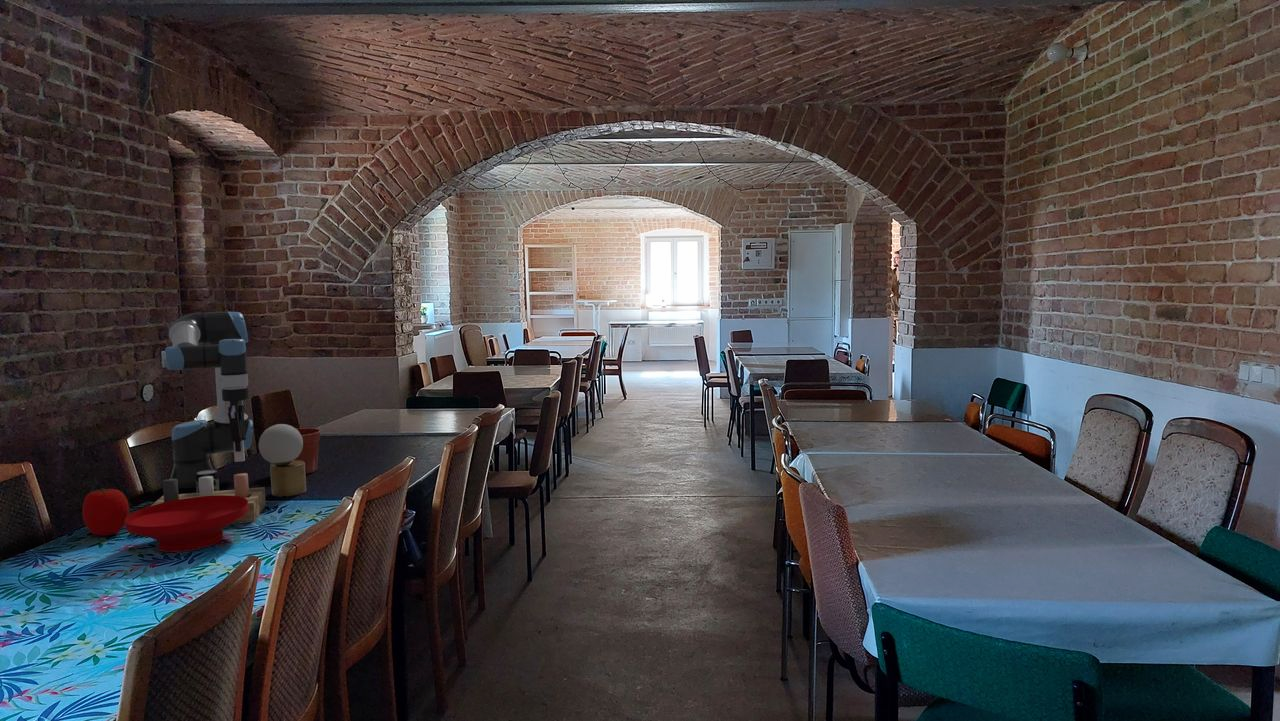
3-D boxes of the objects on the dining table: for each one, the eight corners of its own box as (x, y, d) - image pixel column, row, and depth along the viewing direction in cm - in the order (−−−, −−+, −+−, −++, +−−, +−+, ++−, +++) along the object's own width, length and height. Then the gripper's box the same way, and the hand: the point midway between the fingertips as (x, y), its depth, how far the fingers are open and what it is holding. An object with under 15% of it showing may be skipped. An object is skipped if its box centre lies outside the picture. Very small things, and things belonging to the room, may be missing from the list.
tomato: (73, 537, 227) (69, 490, 226) (111, 526, 238) (107, 481, 237) (103, 541, 223) (99, 493, 222) (140, 529, 234) (137, 484, 232)
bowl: (273, 531, 230) (271, 499, 229) (183, 567, 201) (181, 529, 200) (196, 523, 240) (194, 491, 239) (100, 555, 211) (97, 519, 210)
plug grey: (202, 504, 246) (200, 476, 245) (216, 503, 247) (214, 475, 246) (199, 507, 242) (197, 479, 241) (213, 506, 244) (211, 478, 243)
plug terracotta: (236, 501, 249) (235, 473, 248) (250, 500, 250) (248, 472, 249) (234, 504, 245) (232, 476, 244) (248, 503, 246) (246, 475, 246)
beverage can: (210, 510, 253) (207, 474, 252) (193, 509, 255) (190, 473, 254) (224, 504, 260) (222, 469, 259) (208, 503, 261) (205, 469, 260)
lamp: (284, 501, 263) (280, 428, 261) (252, 498, 268) (247, 427, 265) (316, 490, 277) (312, 421, 275) (285, 487, 282) (281, 419, 280)
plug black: (166, 507, 243) (164, 479, 242) (181, 506, 244) (178, 478, 244) (162, 510, 239) (160, 482, 239) (177, 509, 241) (175, 481, 240)
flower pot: (312, 476, 298) (310, 435, 296) (270, 477, 298) (267, 436, 296) (330, 466, 314) (327, 427, 313) (289, 467, 314) (287, 428, 313)
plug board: (164, 513, 250) (162, 495, 250) (265, 504, 259) (264, 487, 259) (144, 531, 231) (143, 512, 231) (254, 521, 240) (253, 502, 239)
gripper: (226, 386, 249) (231, 457, 251) (217, 390, 237) (222, 466, 239) (251, 384, 251) (256, 456, 254) (244, 389, 239) (248, 464, 241)
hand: (239, 460), depth 246 cm, fingers closed
